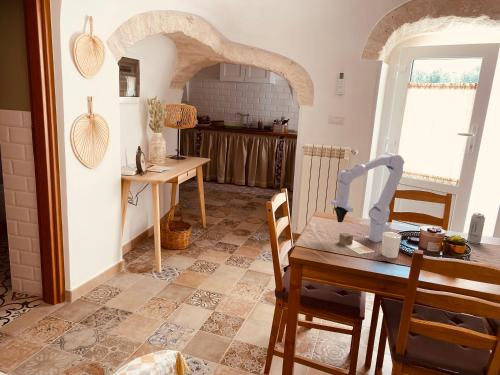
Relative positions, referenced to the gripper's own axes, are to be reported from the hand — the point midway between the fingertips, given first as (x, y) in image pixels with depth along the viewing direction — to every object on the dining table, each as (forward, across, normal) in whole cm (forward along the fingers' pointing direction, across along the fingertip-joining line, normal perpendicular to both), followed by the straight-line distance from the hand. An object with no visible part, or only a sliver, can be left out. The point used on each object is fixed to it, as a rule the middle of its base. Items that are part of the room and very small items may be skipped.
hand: (340, 221), depth 188 cm
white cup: (+10, +24, +10) cm, 28 cm away
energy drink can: (+10, +24, +67) cm, 72 cm away
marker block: (+9, +6, 0) cm, 11 cm away
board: (+9, +11, +2) cm, 15 cm away
